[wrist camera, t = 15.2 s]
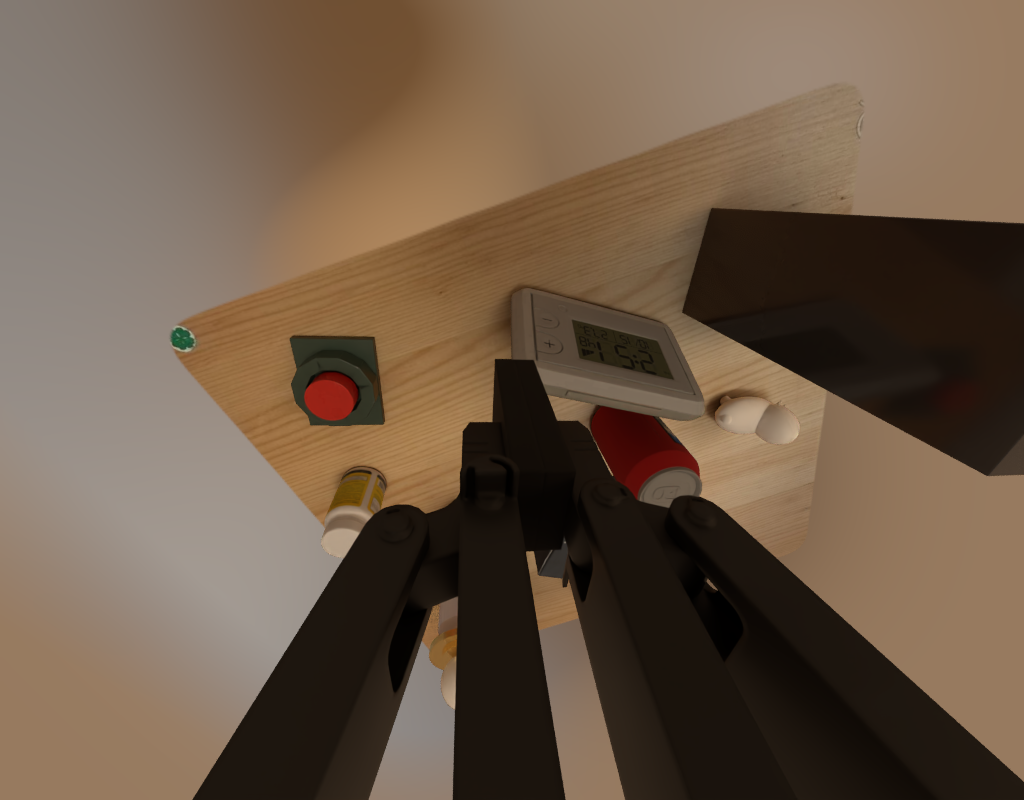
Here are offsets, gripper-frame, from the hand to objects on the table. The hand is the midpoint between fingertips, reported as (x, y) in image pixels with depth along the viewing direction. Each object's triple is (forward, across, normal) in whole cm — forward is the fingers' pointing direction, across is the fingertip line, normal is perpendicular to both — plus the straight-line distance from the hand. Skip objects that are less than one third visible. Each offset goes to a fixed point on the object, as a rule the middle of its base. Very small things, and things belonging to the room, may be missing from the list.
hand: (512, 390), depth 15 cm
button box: (+20, -14, -10) cm, 26 cm away
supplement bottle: (+20, -13, -22) cm, 33 cm away
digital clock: (+21, +9, -4) cm, 23 cm away
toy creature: (+21, +29, -13) cm, 37 cm away
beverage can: (+21, +15, -14) cm, 29 cm away
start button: (+18, -14, -10) cm, 25 cm away
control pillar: (+21, +23, +2) cm, 31 cm away
